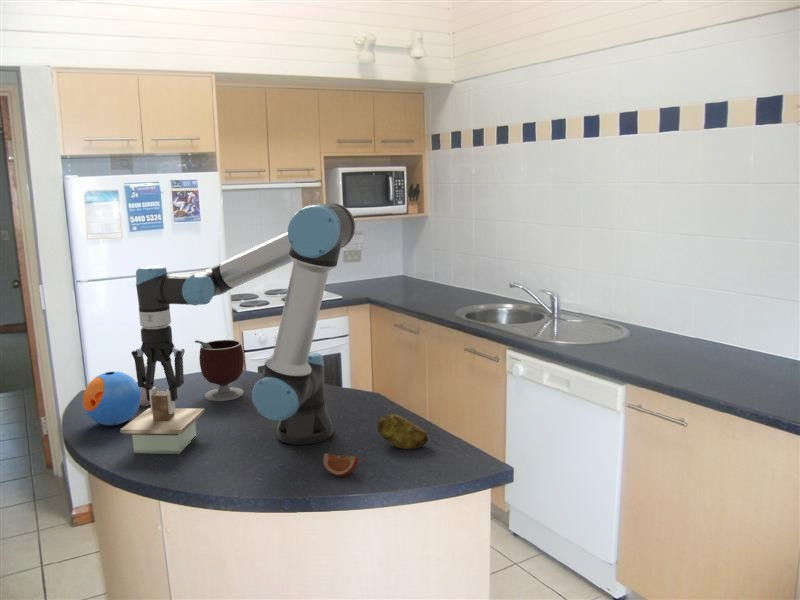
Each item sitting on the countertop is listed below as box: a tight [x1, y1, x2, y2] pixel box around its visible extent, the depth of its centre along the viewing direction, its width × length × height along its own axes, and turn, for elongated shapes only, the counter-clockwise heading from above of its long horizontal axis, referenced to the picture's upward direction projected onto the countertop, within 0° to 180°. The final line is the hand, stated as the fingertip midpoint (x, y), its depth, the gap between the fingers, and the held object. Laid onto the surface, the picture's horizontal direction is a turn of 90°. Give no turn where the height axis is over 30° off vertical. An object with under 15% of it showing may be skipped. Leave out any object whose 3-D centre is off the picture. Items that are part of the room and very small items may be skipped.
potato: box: [376, 413, 429, 450], centre depth 173 cm, size 8×13×8 cm, turn 54°
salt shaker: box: [139, 363, 155, 407], centre depth 210 cm, size 6×6×13 cm
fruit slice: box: [322, 452, 359, 477], centre depth 158 cm, size 8×7×5 cm
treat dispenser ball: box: [82, 371, 141, 426], centre depth 193 cm, size 16×15×15 cm
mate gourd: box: [194, 339, 245, 402], centre depth 216 cm, size 16×14×20 cm
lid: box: [119, 390, 205, 434], centre depth 176 cm, size 16×16×8 cm
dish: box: [131, 421, 197, 455], centre depth 177 cm, size 12×12×5 cm
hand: (163, 412), depth 176 cm, fingers closed on lid, 4 cm apart
